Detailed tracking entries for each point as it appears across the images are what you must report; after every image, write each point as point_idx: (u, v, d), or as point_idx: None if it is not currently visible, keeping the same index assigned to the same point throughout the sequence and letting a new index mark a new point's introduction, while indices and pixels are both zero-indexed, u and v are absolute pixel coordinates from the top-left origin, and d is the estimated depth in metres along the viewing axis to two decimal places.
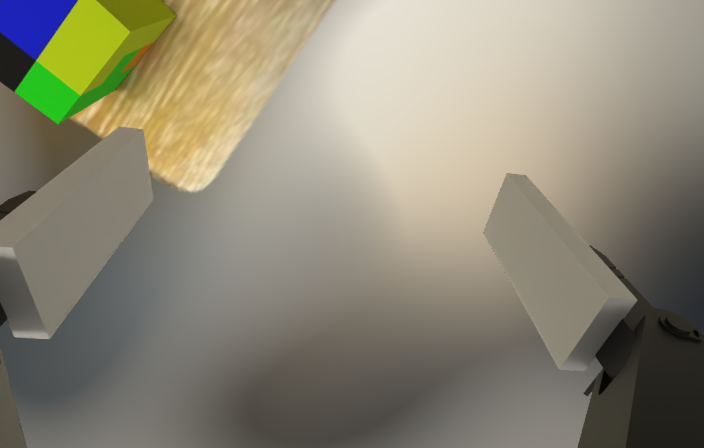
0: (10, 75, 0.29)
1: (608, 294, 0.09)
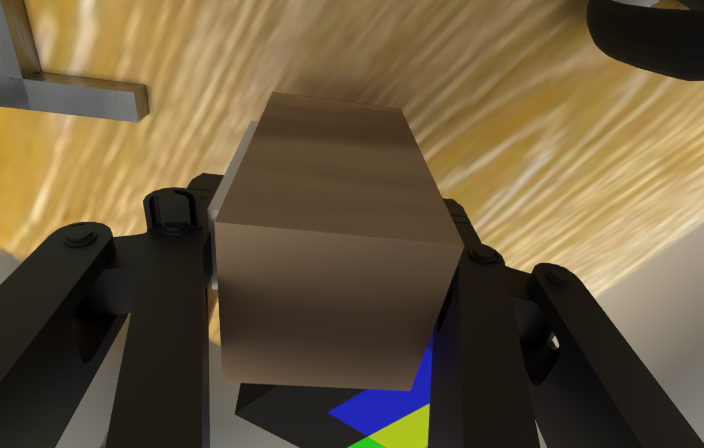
0: None
1: None
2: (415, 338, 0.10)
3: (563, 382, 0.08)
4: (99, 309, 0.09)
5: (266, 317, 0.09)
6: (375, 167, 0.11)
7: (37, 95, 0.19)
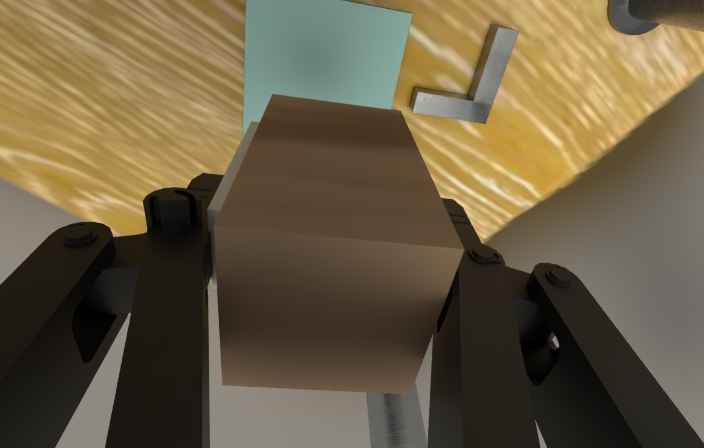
0: None
1: None
2: (415, 341, 0.10)
3: (563, 382, 0.08)
4: (99, 309, 0.09)
5: (266, 320, 0.09)
6: (375, 170, 0.11)
7: (484, 96, 0.29)
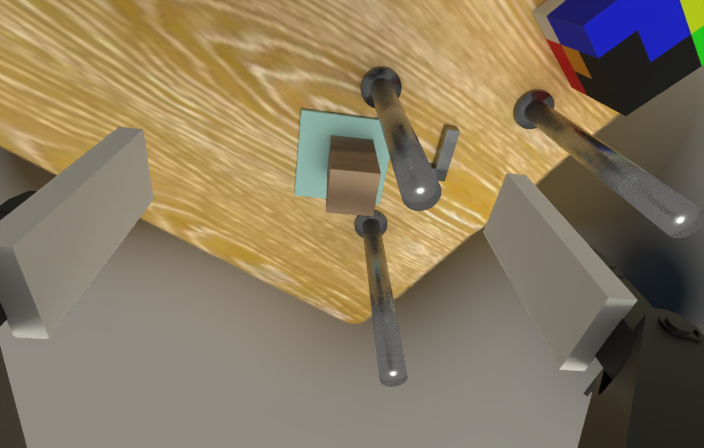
0: (689, 63, 0.34)
1: (608, 294, 0.09)
2: (372, 198, 0.41)
3: None
4: None
5: (338, 192, 0.40)
6: (363, 158, 0.42)
7: (442, 166, 0.48)
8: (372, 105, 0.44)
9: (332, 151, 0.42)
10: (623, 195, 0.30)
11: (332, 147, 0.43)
